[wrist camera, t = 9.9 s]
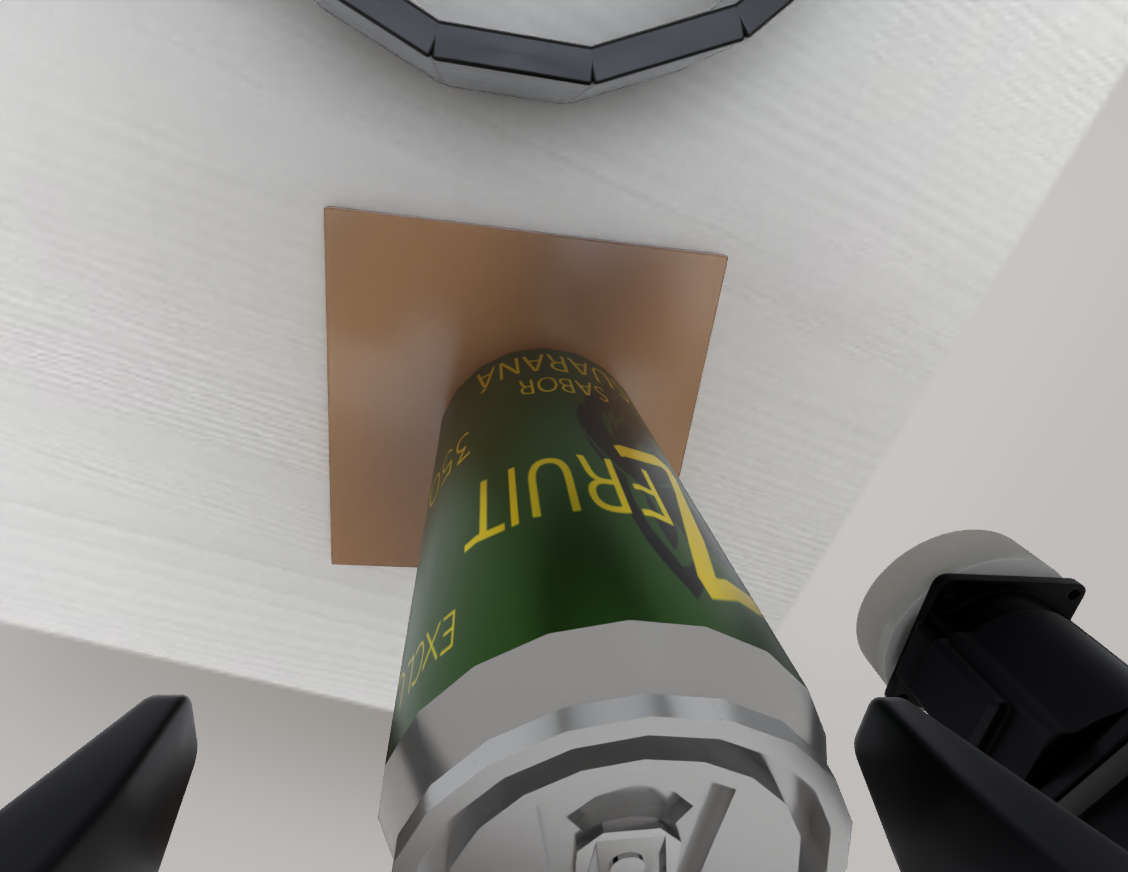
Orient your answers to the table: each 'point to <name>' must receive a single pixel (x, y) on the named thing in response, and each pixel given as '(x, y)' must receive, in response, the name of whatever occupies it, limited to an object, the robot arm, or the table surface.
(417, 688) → the green drink can
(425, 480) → the cork mat
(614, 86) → the pan
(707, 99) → the table surface
